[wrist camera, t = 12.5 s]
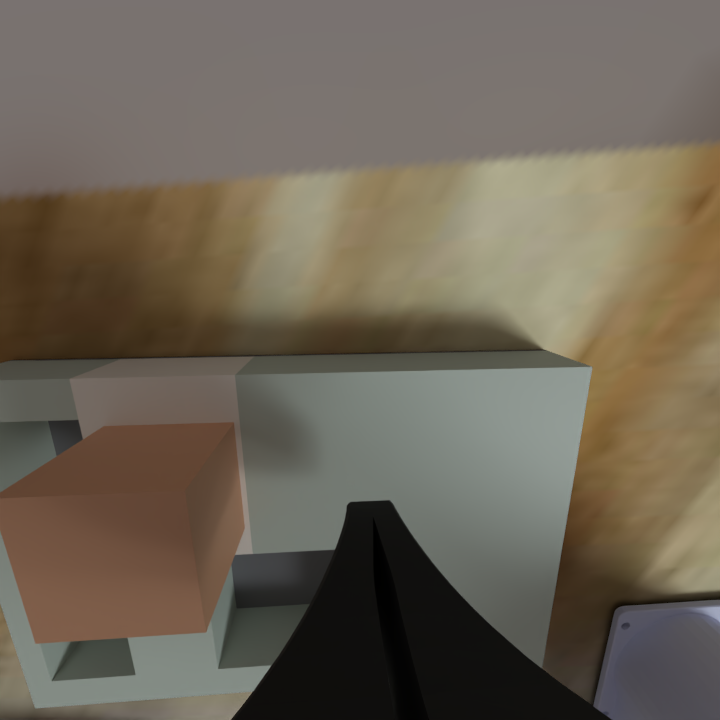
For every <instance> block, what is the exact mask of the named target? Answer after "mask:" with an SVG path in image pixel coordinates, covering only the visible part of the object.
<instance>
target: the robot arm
mask: <svg viewBox="0 0 720 720" xmlns="http://www.w3.org/2000/svg"><path fill="white" fill-rule="evenodd" d="M389 686H390V687H389ZM231 720H720V600H705V601H690V602H675V603H660V604H645V605H630V606H621V607H619V608H617V609H616V610H615V612H614V616H613V620H612V625H611V629H610V634H609V638H608V643H607V647H606V651H605V656H604V660H603V665H602V669H601V674H600V678H599V683H598V687H597V692H596V696H595V701H594V705H593V706H592V705H591V704H589V703H588V702H586V701H585V700H584V699H582V698H581V697H579V696H578V695H577V694H575V693H574V692H572V691H571V690H570V689H568V688H567V687H565V686H564V685H562V684H561V683H560V682H558V681H557V680H556V679H554V678H553V677H552V676H551V675H549V674H548V673H547V672H546V671H544V670H543V669H542V668H541V667H539V666H538V665H537V664H535V663H534V662H533V661H532V660H530V659H529V658H528V657H527V656H525V655H524V654H523V653H522V652H521V651H520V650H519V649H517V648H516V647H515V646H514V645H513V644H512V643H511V642H509V641H508V640H507V639H506V638H505V637H504V636H503V635H501V634H500V633H499V632H498V631H497V630H496V629H495V628H494V627H492V626H491V625H490V624H489V623H488V622H487V621H486V620H485V619H484V618H483V617H482V616H481V615H480V614H479V613H478V612H477V611H476V610H475V609H474V608H473V607H472V606H471V605H470V604H469V603H468V602H467V601H466V600H465V599H464V598H463V597H462V596H461V595H460V594H459V593H458V591H457V590H456V589H455V588H454V587H453V586H452V585H451V584H450V583H449V581H448V580H447V579H446V578H445V577H444V576H443V574H442V573H441V572H440V571H439V570H438V568H437V567H436V566H435V565H434V563H433V562H432V561H431V560H430V558H429V557H428V556H427V555H426V553H425V552H424V550H423V549H422V548H421V546H420V545H419V544H418V542H417V541H416V540H415V538H414V537H413V535H412V534H411V532H410V531H409V529H408V528H407V526H406V525H405V523H404V522H403V520H402V518H401V517H400V515H399V513H398V512H397V510H396V508H395V506H394V504H393V503H392V502H391V501H390V500H381V501H358V502H350V503H349V504H348V505H347V509H346V516H345V520H344V524H343V528H342V531H341V534H340V537H339V540H338V543H337V546H336V548H335V551H334V554H333V556H332V559H331V561H330V563H329V565H328V568H327V570H326V572H325V574H324V577H323V579H322V581H321V583H320V585H319V587H318V589H317V591H316V593H315V595H314V597H313V599H312V601H311V603H310V605H309V606H308V608H307V610H306V612H305V614H304V615H303V617H302V619H301V620H300V622H299V624H298V625H297V627H296V629H295V630H294V632H293V634H292V635H291V637H290V639H289V640H288V642H287V643H286V645H285V646H284V648H283V650H282V651H281V653H280V654H279V656H278V657H277V658H276V660H275V661H274V663H273V664H272V666H271V667H270V668H269V670H268V671H267V673H266V674H265V675H264V677H263V678H262V680H261V681H260V682H259V684H258V685H257V687H256V688H255V689H254V691H253V692H252V694H251V695H250V696H249V698H248V699H247V700H246V702H245V703H244V704H243V706H242V707H241V708H240V709H239V710H238V712H237V713H236V714H235V715H234V717H233V718H232V719H231Z"/></svg>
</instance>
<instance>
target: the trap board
mask: <svg viewBox="0 0 720 720" xmlns="http://www.w3.org/2000/svg"><path fill="white" fill-rule="evenodd" d="M591 372H592V367H591V366H589V365H586V364H583V363H580V362H577V361H575V360H572V359H569V358H566V357H563V356H561V355H558V354H555V353H552V352H549V351H547V350H505V351H454V352H403V353H352V354H301V355H250V356H199V357H148V358H97V359H46V360H11V361H7V362H3V363H0V492H2V491H3V490H5V489H6V488H8V487H9V486H11V485H13V484H14V483H16V482H17V481H19V480H20V479H22V478H24V477H25V476H27V475H28V474H30V473H31V472H33V471H34V470H36V469H38V468H39V467H41V466H42V465H44V464H45V463H47V462H49V461H50V460H52V459H53V458H55V457H56V456H58V455H60V454H61V453H63V452H64V451H66V450H67V449H69V448H70V447H72V446H74V445H75V444H77V443H78V442H80V441H81V440H83V439H85V438H86V437H88V436H89V435H91V434H92V433H94V432H95V431H97V430H99V429H100V428H102V427H103V426H126V425H159V424H191V423H224V422H234V428H235V437H236V447H237V457H238V466H239V476H240V485H241V495H242V505H243V514H244V524H245V529H244V532H243V535H242V537H241V540H240V543H239V546H238V548H237V551H236V554H235V556H234V559H233V562H232V564H231V567H230V570H229V572H228V575H227V578H226V581H225V583H224V586H223V589H222V591H221V594H220V597H219V599H218V602H217V605H216V607H215V610H214V613H213V616H212V618H211V621H210V624H209V626H208V629H207V632H206V633H192V634H176V635H161V636H146V637H131V638H116V639H101V640H86V641H71V642H56V643H40V644H35V641H34V638H33V634H32V631H31V628H30V625H29V622H28V618H27V615H26V612H25V609H24V606H23V602H22V599H21V596H20V593H19V590H18V586H17V583H16V580H15V577H14V573H13V570H12V567H11V564H10V561H9V557H8V554H7V551H6V548H5V545H4V541H3V538H2V535H1V532H0V604H1V607H2V610H3V613H4V616H5V619H6V622H7V625H8V628H9V631H10V634H11V637H12V640H13V643H14V646H15V649H16V652H17V655H18V658H19V661H20V664H21V667H22V670H23V673H24V676H25V679H26V682H27V685H28V688H29V691H30V694H31V697H32V700H33V703H34V706H35V708H47V707H60V706H73V705H86V704H99V703H112V702H124V701H137V700H150V699H163V698H176V697H189V696H202V695H215V694H228V693H241V692H253V691H254V689H255V688H256V687H257V685H258V684H259V682H260V681H261V680H262V678H263V677H264V675H265V674H266V673H267V671H268V670H269V668H270V667H271V666H272V664H273V663H274V661H275V660H276V658H277V657H278V656H279V654H280V653H281V651H282V650H283V648H284V646H285V645H286V643H287V642H288V640H289V639H290V637H291V635H292V634H293V632H294V630H295V629H296V627H297V625H298V624H299V622H300V620H301V619H302V617H303V615H304V614H305V612H306V610H307V608H308V606H309V605H310V603H311V601H312V599H313V597H314V595H315V593H316V591H317V589H318V587H319V585H320V583H321V581H322V579H323V577H324V574H325V572H326V570H327V568H328V565H329V563H330V561H331V559H332V556H333V554H334V551H335V548H336V546H337V543H338V540H339V537H340V534H341V531H342V528H343V524H344V520H345V516H346V509H347V505H348V504H349V503H350V502H358V501H381V500H390V501H391V502H392V503H393V504H394V506H395V508H396V510H397V512H398V513H399V515H400V517H401V518H402V520H403V522H404V523H405V525H406V526H407V528H408V529H409V531H410V532H411V534H412V535H413V537H414V538H415V540H416V541H417V542H418V544H419V545H420V546H421V548H422V549H423V550H424V552H425V553H426V555H427V556H428V557H429V558H430V560H431V561H432V562H433V563H434V565H435V566H436V567H437V568H438V570H439V571H440V572H441V573H442V574H443V576H444V577H445V578H446V579H447V580H448V581H449V583H450V584H451V585H452V586H453V587H454V588H455V589H456V590H457V591H458V593H459V594H460V595H461V596H462V597H463V598H464V599H465V600H466V601H467V602H468V603H469V604H470V605H471V606H472V607H473V608H474V609H475V610H476V611H477V612H478V613H479V614H480V615H481V616H482V617H483V618H484V619H485V620H486V621H487V622H488V623H489V624H490V625H491V626H492V627H494V628H495V629H496V630H497V631H498V632H499V633H500V634H501V635H503V636H504V637H505V638H506V639H507V640H508V641H509V642H511V643H512V644H513V645H514V646H515V647H516V648H517V649H519V650H520V651H521V652H522V653H523V654H524V655H525V656H527V657H528V658H529V659H530V660H532V661H533V662H534V663H535V664H537V665H538V666H539V667H541V668H542V666H543V660H544V654H545V648H546V642H547V636H548V630H549V624H550V618H551V612H552V606H553V600H554V594H555V588H556V582H557V576H558V570H559V564H560V558H561V552H562V546H563V540H564V534H565V528H566V522H567V516H568V510H569V504H570V498H571V492H572V486H573V480H574V474H575V468H576V462H577V456H578V450H579V444H580V438H581V432H582V426H583V420H584V414H585V408H586V402H587V396H588V390H589V384H590V378H591Z"/></svg>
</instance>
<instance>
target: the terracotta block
mask: <svg viewBox="0 0 720 720" xmlns="http://www.w3.org/2000/svg"><path fill="white" fill-rule="evenodd" d="M244 529H245V524H244V514H243V505H242V495H241V485H240V476H239V466H238V457H237V447H236V437H235V428H234V422H224V423H191V424H159V425H126V426H103V427H102V428H100V429H99V430H97V431H95V432H94V433H92V434H91V435H89V436H88V437H86V438H85V439H83V440H81V441H80V442H78V443H77V444H75V445H74V446H72V447H70V448H69V449H67V450H66V451H64V452H63V453H61V454H60V455H58V456H56V457H55V458H53V459H52V460H50V461H49V462H47V463H45V464H44V465H42V466H41V467H39V468H38V469H36V470H34V471H33V472H31V473H30V474H28V475H27V476H25V477H24V478H22V479H20V480H19V481H17V482H16V483H14V484H13V485H11V486H9V487H8V488H6V489H5V490H3V491H2V492H0V532H1V535H2V538H3V541H4V545H5V548H6V551H7V554H8V557H9V561H10V564H11V567H12V570H13V573H14V577H15V580H16V583H17V586H18V590H19V593H20V596H21V599H22V602H23V606H24V609H25V612H26V615H27V618H28V622H29V625H30V628H31V631H32V634H33V638H34V641H35V644H40V643H56V642H71V641H86V640H101V639H116V638H131V637H146V636H161V635H176V634H192V633H206V632H207V629H208V626H209V624H210V621H211V618H212V616H213V613H214V610H215V607H216V605H217V602H218V599H219V597H220V594H221V591H222V589H223V586H224V583H225V581H226V578H227V575H228V572H229V570H230V567H231V564H232V562H233V559H234V556H235V554H236V551H237V548H238V546H239V543H240V540H241V537H242V535H243V532H244Z"/></svg>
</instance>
